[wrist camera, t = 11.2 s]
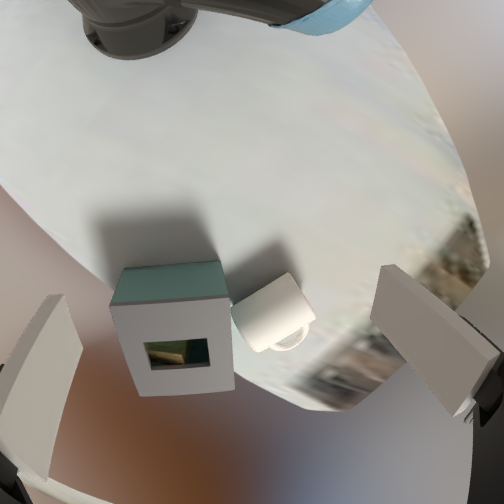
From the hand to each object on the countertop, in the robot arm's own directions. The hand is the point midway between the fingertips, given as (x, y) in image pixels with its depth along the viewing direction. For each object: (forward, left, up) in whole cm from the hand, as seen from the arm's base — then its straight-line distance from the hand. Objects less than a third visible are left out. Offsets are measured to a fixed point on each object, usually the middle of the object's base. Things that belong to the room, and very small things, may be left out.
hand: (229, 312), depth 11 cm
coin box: (+19, -5, -29) cm, 35 cm away
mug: (+20, +10, -29) cm, 37 cm away
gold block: (+19, -5, -27) cm, 33 cm away
